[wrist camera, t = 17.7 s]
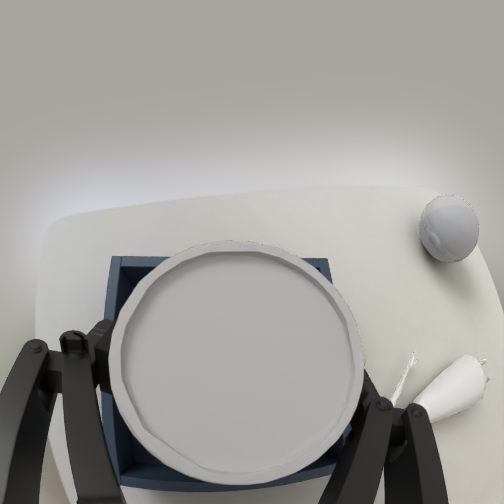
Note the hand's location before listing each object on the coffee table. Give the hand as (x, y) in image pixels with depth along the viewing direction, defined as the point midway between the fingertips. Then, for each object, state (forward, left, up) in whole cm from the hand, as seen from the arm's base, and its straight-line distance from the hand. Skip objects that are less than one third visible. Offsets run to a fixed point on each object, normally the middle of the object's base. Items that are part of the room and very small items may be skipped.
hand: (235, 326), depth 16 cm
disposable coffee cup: (-1, -3, -5) cm, 5 cm away
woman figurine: (+17, -9, -5) cm, 20 cm away
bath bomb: (+25, +9, -5) cm, 27 cm away
